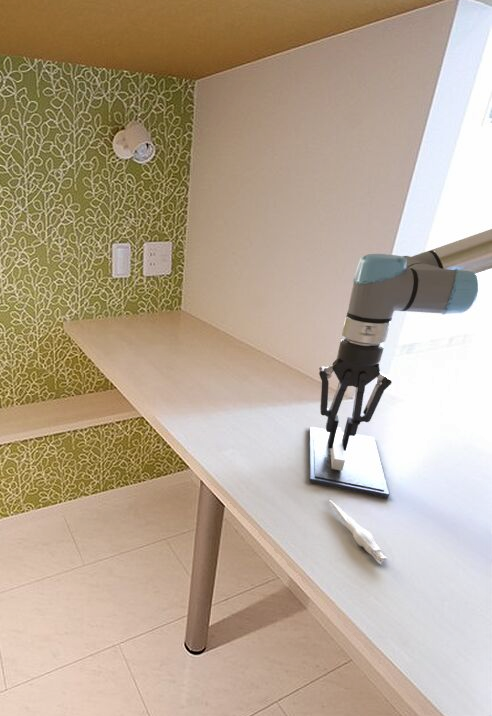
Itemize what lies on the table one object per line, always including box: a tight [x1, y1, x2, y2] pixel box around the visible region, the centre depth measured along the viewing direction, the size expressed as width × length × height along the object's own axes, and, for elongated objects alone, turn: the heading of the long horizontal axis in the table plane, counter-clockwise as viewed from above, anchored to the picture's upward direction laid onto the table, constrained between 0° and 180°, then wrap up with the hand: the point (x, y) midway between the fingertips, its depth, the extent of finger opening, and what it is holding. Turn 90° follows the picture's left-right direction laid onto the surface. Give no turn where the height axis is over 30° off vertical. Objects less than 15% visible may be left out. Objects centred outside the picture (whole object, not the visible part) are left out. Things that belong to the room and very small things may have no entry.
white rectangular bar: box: [330, 426, 345, 471], centre depth 93 cm, size 2×16×2 cm, turn 160°
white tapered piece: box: [328, 499, 388, 565], centre depth 73 cm, size 15×3×2 cm, turn 11°
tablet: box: [308, 426, 390, 499], centre depth 93 cm, size 14×22×1 cm, turn 161°
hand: (336, 445), depth 92 cm, fingers closed on white rectangular bar, 2 cm apart
